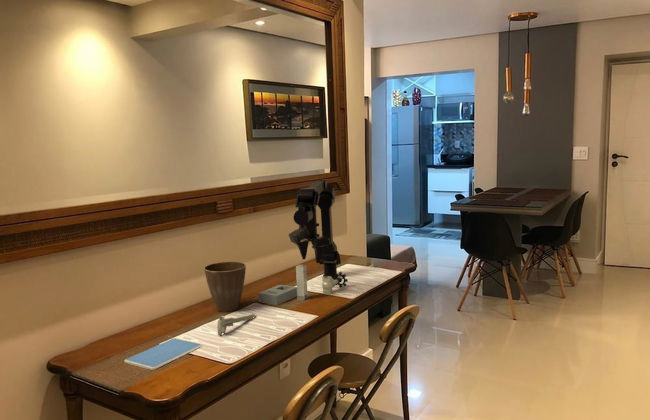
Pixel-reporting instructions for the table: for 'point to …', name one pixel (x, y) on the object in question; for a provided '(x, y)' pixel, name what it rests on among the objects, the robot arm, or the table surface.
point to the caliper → (230, 322)
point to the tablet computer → (162, 354)
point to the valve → (332, 282)
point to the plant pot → (226, 284)
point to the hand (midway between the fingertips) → (310, 261)
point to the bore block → (277, 294)
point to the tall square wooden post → (301, 282)
